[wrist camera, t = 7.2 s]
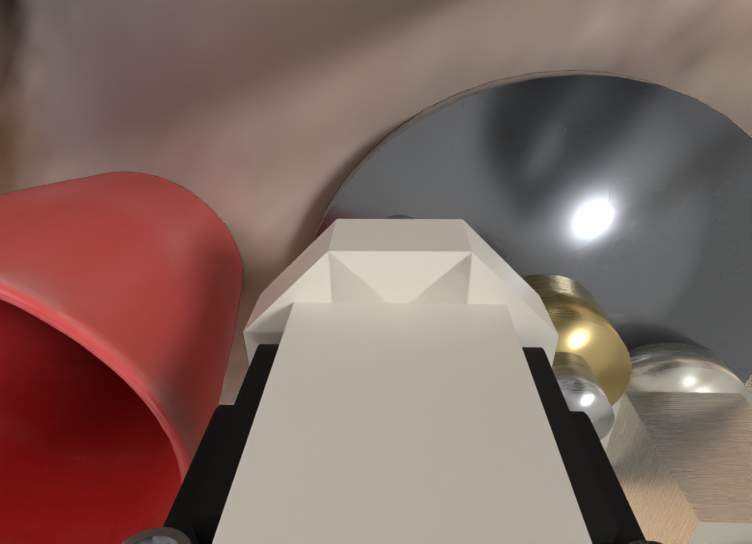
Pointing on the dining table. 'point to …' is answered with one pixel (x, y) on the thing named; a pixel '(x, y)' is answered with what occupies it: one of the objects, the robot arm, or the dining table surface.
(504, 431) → the open ended square duct
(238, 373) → the dining table surface
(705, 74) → the dining table surface
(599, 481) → the robot arm
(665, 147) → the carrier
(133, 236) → the flower pot
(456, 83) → the dining table surface
